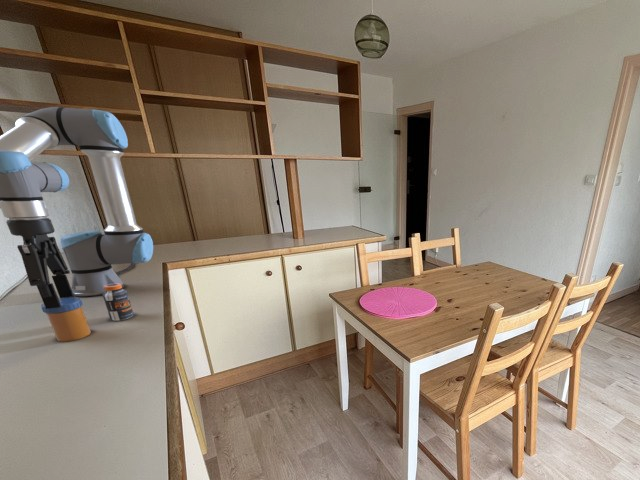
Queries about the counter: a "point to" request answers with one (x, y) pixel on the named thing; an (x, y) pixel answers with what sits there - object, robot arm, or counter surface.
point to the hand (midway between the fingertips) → (60, 302)
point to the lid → (64, 305)
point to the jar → (69, 324)
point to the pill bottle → (117, 302)
